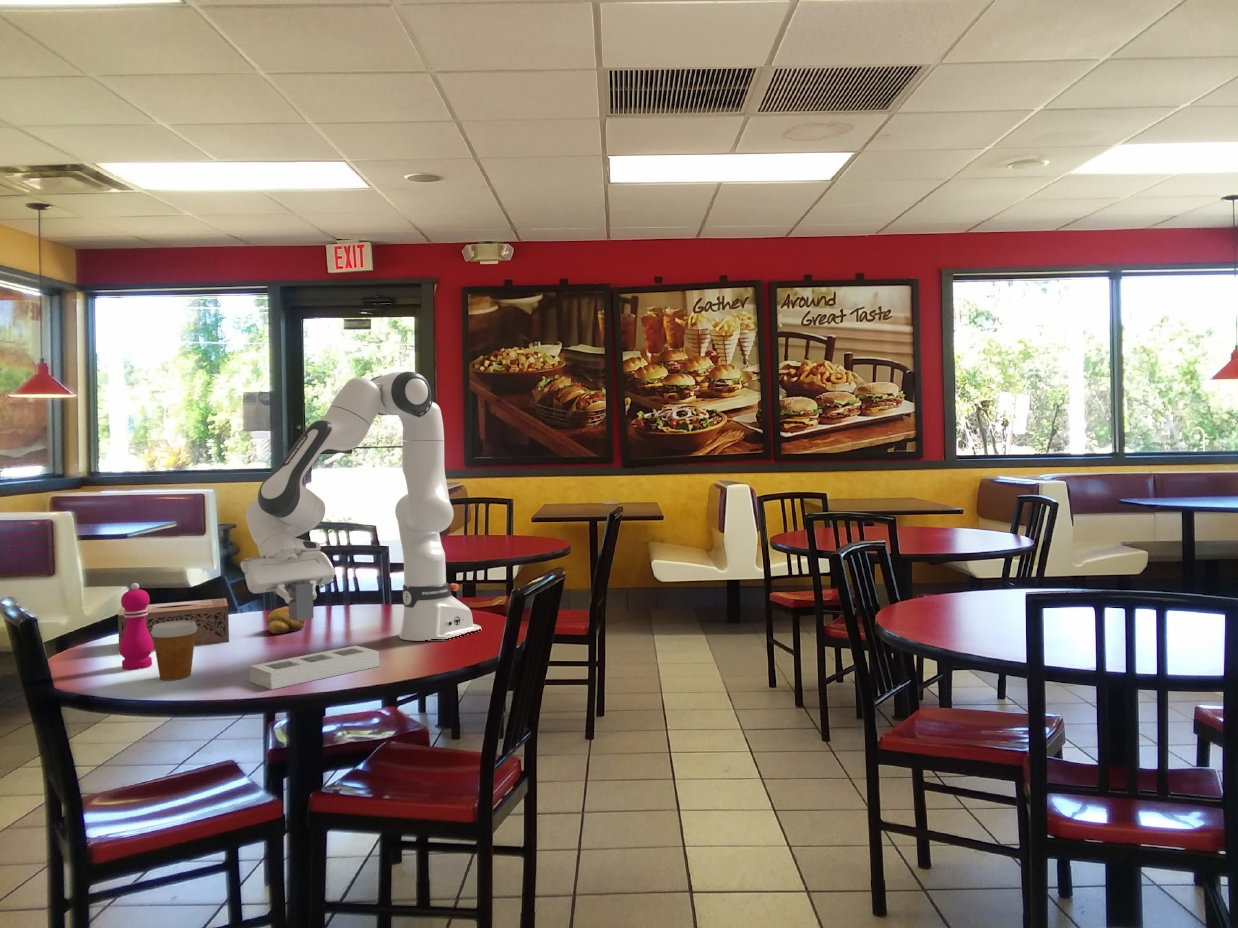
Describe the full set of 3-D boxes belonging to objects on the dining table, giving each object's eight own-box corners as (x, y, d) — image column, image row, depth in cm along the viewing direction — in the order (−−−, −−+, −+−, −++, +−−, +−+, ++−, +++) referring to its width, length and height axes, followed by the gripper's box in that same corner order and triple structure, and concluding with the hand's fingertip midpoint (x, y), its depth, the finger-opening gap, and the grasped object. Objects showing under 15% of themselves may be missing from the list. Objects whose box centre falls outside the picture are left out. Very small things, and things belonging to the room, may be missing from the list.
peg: (305, 616, 209) (304, 582, 209) (313, 618, 206) (312, 583, 206) (288, 618, 206) (287, 584, 206) (297, 620, 203) (296, 585, 203)
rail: (356, 659, 215) (356, 645, 215) (379, 666, 208) (378, 651, 208) (250, 681, 196) (250, 665, 196) (271, 689, 189) (271, 672, 189)
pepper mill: (139, 670, 208) (137, 585, 208) (112, 669, 209) (110, 585, 209) (161, 663, 215) (158, 580, 215) (135, 662, 216) (132, 580, 216)
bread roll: (283, 636, 245) (282, 607, 245) (254, 634, 248) (254, 606, 248) (314, 627, 257) (313, 599, 257) (286, 625, 260) (286, 598, 260)
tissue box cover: (226, 633, 252) (225, 598, 252) (229, 642, 239) (228, 605, 239) (122, 643, 240) (121, 606, 240) (119, 654, 227) (118, 615, 227)
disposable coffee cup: (166, 671, 206) (164, 620, 206) (206, 671, 206) (205, 619, 206) (142, 682, 197) (141, 628, 197) (185, 682, 196) (183, 628, 196)
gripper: (241, 550, 203) (261, 597, 196) (325, 542, 218) (346, 585, 211) (234, 568, 206) (253, 615, 199) (316, 558, 221) (337, 602, 214)
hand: (302, 599), depth 205 cm, fingers closed on peg, 4 cm apart
